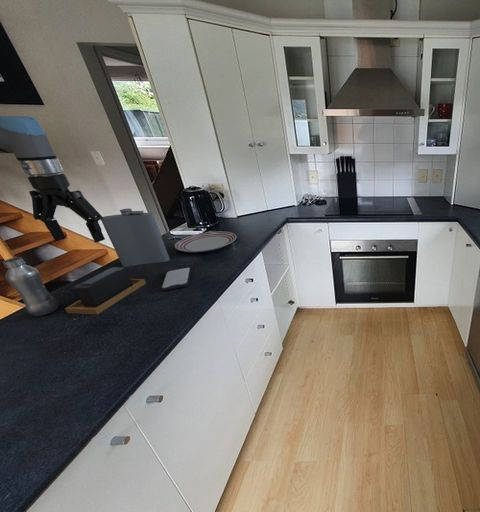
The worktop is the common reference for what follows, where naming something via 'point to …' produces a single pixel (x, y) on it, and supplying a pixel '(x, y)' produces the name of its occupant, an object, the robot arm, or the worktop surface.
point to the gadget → (103, 286)
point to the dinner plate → (205, 241)
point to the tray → (80, 308)
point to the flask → (135, 238)
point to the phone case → (176, 279)
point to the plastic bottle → (30, 287)
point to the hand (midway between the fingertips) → (80, 240)
